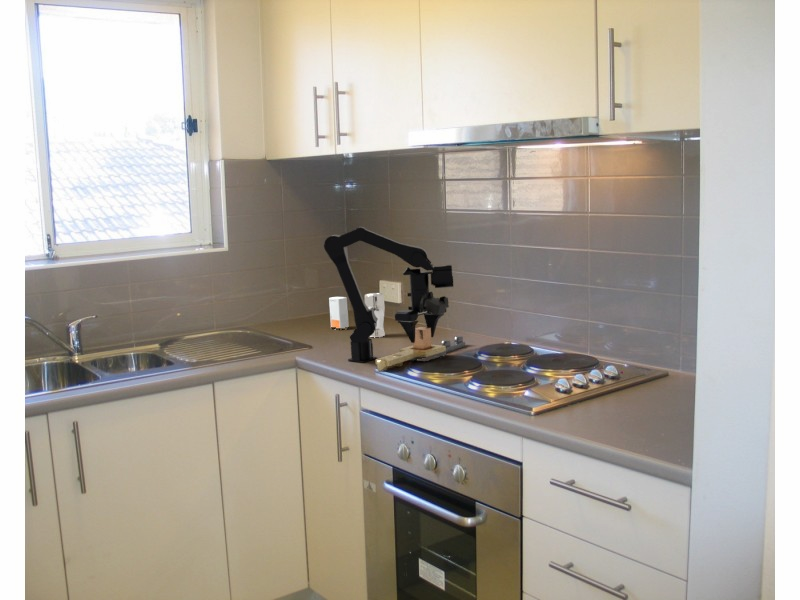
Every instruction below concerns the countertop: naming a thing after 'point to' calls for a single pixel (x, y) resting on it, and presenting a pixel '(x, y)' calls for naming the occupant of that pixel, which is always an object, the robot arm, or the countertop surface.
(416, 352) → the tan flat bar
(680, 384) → the countertop surface
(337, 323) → the skincare box
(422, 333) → the reddish tan block
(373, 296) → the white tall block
